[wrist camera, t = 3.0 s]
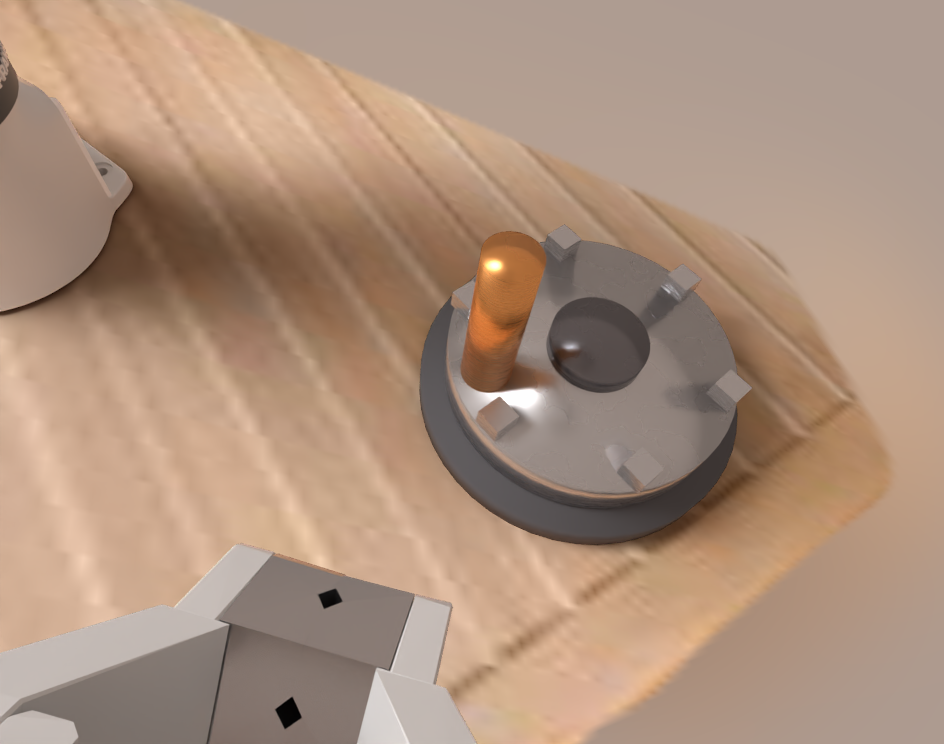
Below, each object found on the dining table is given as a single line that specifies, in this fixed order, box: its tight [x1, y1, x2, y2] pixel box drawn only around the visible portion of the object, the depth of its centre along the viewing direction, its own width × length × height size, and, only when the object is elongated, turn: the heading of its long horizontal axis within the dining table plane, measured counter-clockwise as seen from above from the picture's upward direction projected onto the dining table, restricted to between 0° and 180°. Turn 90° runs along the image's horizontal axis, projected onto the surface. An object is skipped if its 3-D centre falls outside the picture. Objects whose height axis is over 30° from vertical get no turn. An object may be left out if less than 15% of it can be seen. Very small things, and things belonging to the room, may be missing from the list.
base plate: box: [419, 280, 737, 545], centre depth 42 cm, size 21×21×2 cm
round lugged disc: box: [444, 224, 752, 509], centre depth 36 cm, size 18×18×13 cm
